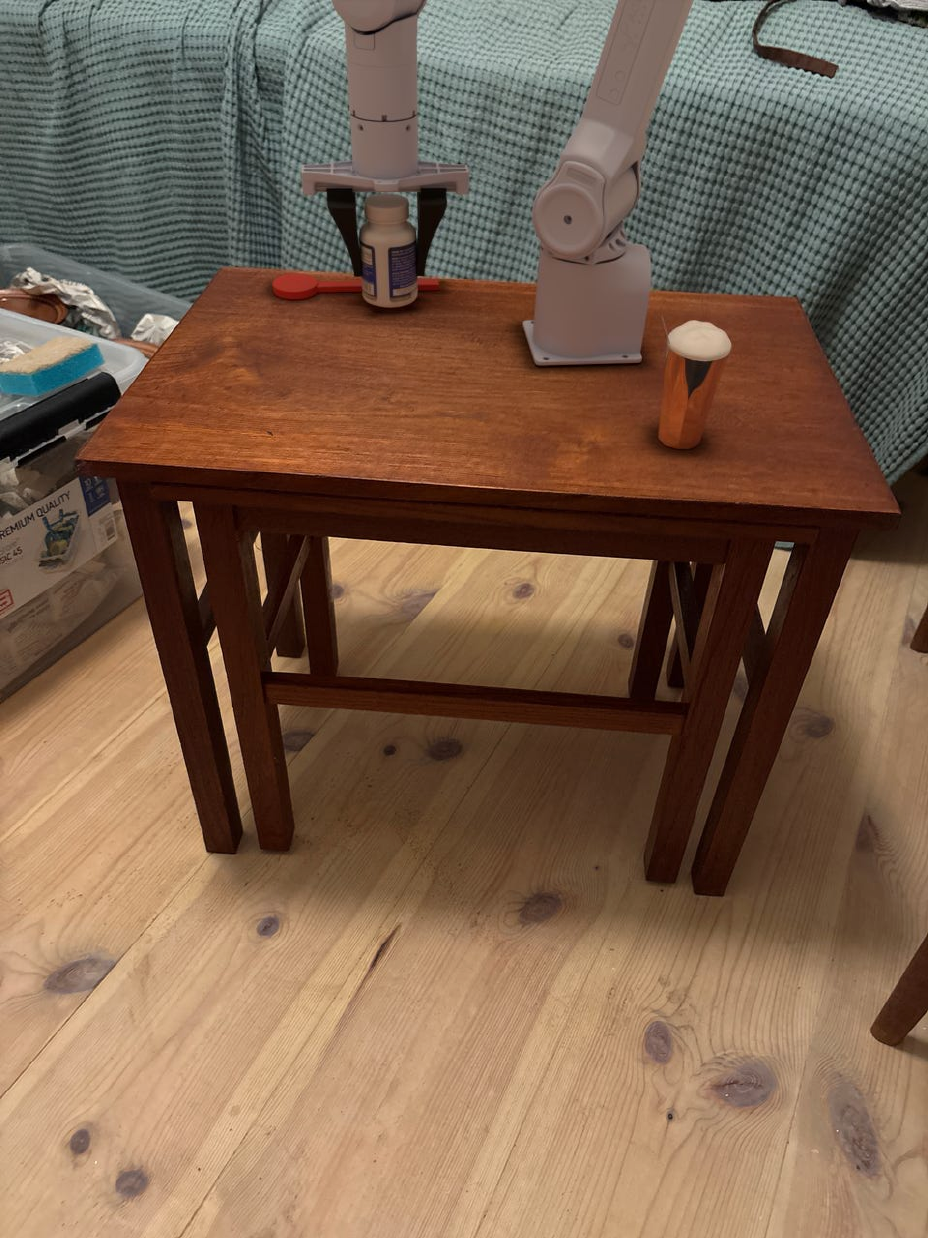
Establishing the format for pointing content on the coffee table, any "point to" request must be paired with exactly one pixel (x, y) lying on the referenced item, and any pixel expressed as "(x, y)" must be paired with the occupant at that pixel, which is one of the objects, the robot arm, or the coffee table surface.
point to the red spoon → (326, 286)
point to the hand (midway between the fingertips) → (388, 272)
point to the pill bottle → (388, 252)
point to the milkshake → (690, 381)
